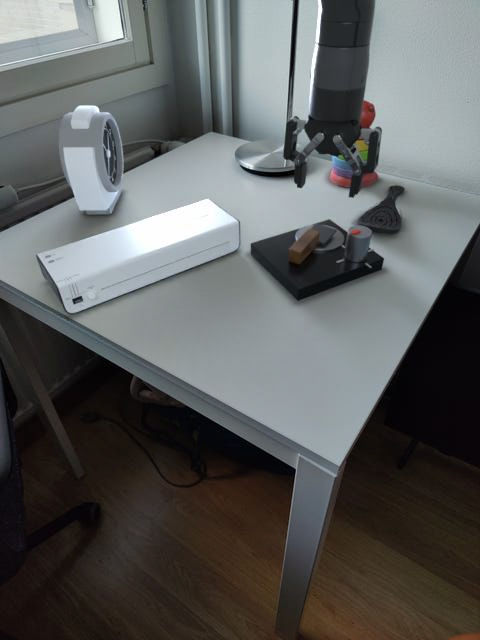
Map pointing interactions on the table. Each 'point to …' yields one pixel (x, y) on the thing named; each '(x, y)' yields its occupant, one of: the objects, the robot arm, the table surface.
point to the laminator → (138, 254)
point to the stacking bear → (341, 168)
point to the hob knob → (357, 243)
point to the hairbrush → (384, 213)
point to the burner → (330, 245)
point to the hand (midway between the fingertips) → (326, 190)
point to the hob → (311, 264)
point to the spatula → (310, 242)
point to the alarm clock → (92, 158)
